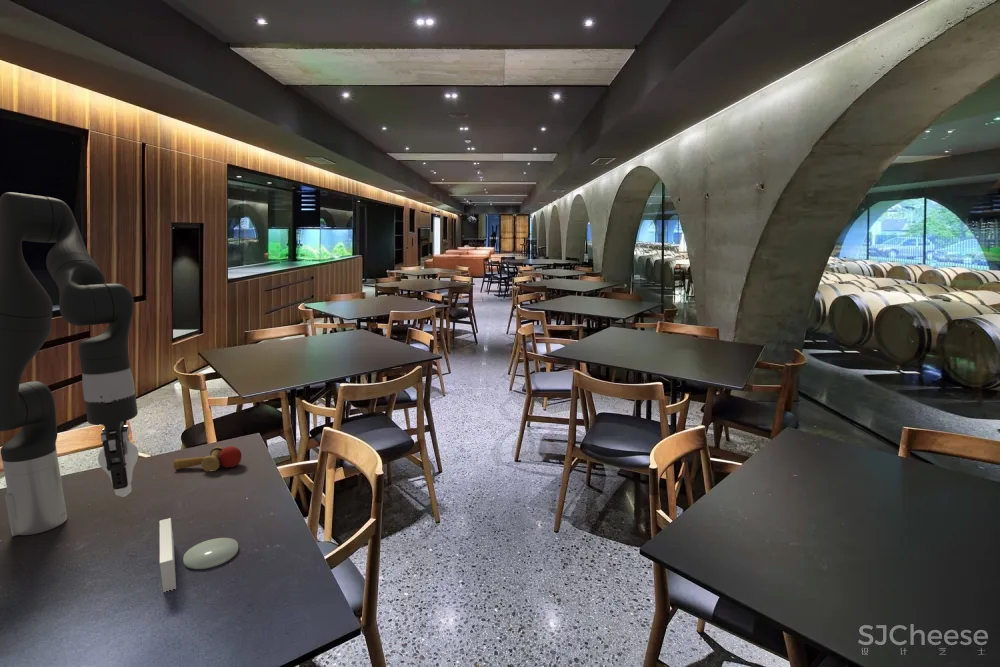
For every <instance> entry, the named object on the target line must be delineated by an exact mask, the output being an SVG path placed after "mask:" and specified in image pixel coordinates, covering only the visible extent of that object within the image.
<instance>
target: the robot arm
mask: <svg viewBox="0 0 1000 667" xmlns="http://www.w3.org/2000/svg"><path fill="white" fill-rule="evenodd" d="M79 228H80V227H79V226H78V223H77V221H76V218H75V216H74V213H73V211H72V210H71V207H70V206H69V205H68V204H67V203H66V202H65V201H63V200H61V199H58V198H54V197H50V196H42V195H34V194H27V193H22V192H21V193H19V192H10V191H9V192H4V193H3V194H1V196H0V432H6V431H7V432H8V431H12V430H17V429H19V428H21V429H20V430H19V431H18V433H17V434H16V435H15V436H13V437H12V438H11V439H9V441H6V443H5V444H3V445H2V446H1V448H0V457H1V463H2V468H3V473H4V479H5V485H6V486H5V487H6V494H5V497H4V499H5V504H6V509H7V510H6V511H7V516H8V522H9V526H10V527H9V528H10V531H11V536H12V537H16V536H31V535H36V534H40V533H44V532H47V531H50V530H53V529H55V528H58V527H59V526H61V525H62V524H64V523H65V522H66V521H67V519H68V516H67V508H66V502H65V495H64V490H63V483H62V476H61V471H60V470H61V469H60V465H59V464H60V463H59V458H58V451H57V445H56V443H57V438H58V425H57V415H56V414H57V413H56V404H55V400H54V396H53V393H52V391H51V389H50V388H49V387H48V386H47V385H46V384H45V383H43V382H41V381H37V380H34V381H27V382H26V381H25V382H23V383H21V379H22V375H23V374H24V371H25V369H26V368H27V366H28V365H29V363H30V362H31V361H32V359H33V358H34V357H35V356H36V355H37V353H38V352H39V350H40V349H41V348H42V347H43V346H44V344H45V342H46V341H47V339H48V338H49V336H50V334H51V328H52V321H53V311H54V310H53V307H54V306H53V305H54V304H53V301H52V299H51V296H50V295H49V294H48V292H47V291H46V289H45V288H44V287H43V285H42V284H41V282H40V281H39V280H38V279H37V277H35V275H34V273H33V272H32V271H31V269H30V267H29V266H28V264H27V262H26V259H25V257H24V254H23V241H26V242H33V243H34V242H35V243H45V244H46V243H48V244H51V243H52V244H53V243H55V244H54V245H53V246H52V247H51V248H50V250H49V251H48V252H47V255H46V260H45V262H46V264H45V265H46V268H47V272H48V273H49V275H50V276H51V278H52V280H53V281H54V283H55V284H56V286H57V288H58V292H59V297H58V298H59V299H58V303H59V304H58V307H59V312H60V316H61V317H62V319H63V320H64V321H65V322H67V323H69V324H70V325H73V326H76V327H85V326H86V327H87V326H94V325H95V326H97V325H105V324H108V325H107V328H106V330H105V331H104V332H103V333H102V334H99V335H97V336H93V337H90V338H87V339H84V340H82V341H81V342H80V343H79V345H78V354H79V361H80V368H81V373H82V374H81V377H82V380H81V382H82V383H81V384H82V385H81V386H82V387H81V388H82V395H83V401H84V408H85V414H86V421H87V423H89V424H90V425H93V426H100V425H101V426H104V428H103V429H102V431H101V433H100V441H101V442H102V447H103V446H104V456H105V457H106V463H107V469H108V471H111V477H112V482H111V484H113V485H112V488H113V490H114V489H121V488H126V487H127V486H128V479H127V472H126V466H127V463H126V460H125V455H126V454H128V444H127V441H130V427H129V425H128V424H127V421H130V420H132V419H135V417H137V416H138V403H137V397H136V389H135V388H136V387H135V383H134V381H135V380H134V378H133V373H132V370H131V364H130V356H129V345H128V344H129V335H130V328H131V324H132V318H133V313H134V309H135V301H134V300H135V299H134V296H133V294H132V292H131V291H130V289H129V288H127V287H126V286H125V285H123V284H122V283H106V279H105V276H104V273H103V272H102V270H101V269H100V267H99V266H98V264H96V262H95V261H94V259H93V258H92V257H91V255H90V253H89V251H88V250H87V247H86V245H85V242H84V239H83V236H82V233H81V231H80V229H79ZM130 442H131V441H130ZM123 446H124V449H123V450H122V447H123ZM114 458H120V462H116V463H112V459H114Z"/></svg>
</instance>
